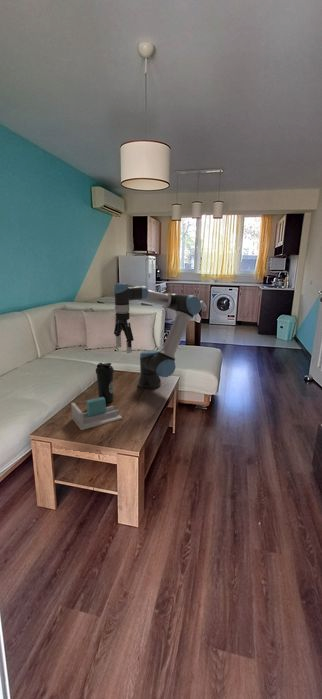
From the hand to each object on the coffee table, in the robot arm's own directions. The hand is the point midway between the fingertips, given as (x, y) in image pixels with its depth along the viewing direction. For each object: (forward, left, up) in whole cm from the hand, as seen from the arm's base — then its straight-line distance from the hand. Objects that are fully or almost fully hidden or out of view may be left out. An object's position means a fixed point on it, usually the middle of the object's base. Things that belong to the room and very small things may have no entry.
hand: (123, 349), depth 184 cm
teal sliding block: (+22, +11, -31) cm, 39 cm away
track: (+22, +11, -32) cm, 40 cm away
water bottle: (+9, -8, -32) cm, 34 cm away
